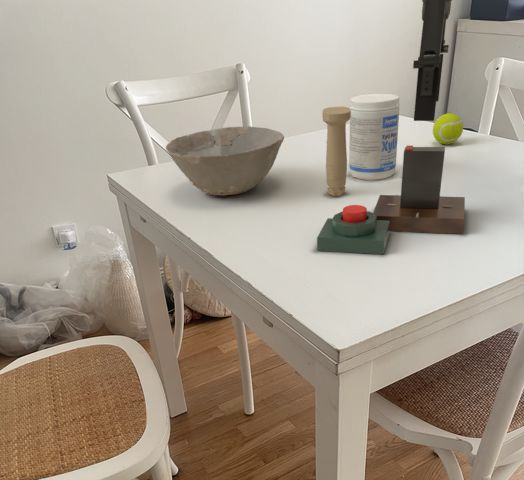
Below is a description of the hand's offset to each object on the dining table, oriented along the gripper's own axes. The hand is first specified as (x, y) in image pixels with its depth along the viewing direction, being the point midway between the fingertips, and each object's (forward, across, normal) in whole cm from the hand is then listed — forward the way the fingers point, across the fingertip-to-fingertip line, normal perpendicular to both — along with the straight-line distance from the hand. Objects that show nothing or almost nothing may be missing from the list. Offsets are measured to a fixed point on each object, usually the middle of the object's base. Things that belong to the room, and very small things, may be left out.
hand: (426, 110), depth 80 cm
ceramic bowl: (+18, -13, -38) cm, 44 cm away
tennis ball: (+17, -49, +3) cm, 52 cm away
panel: (+17, 0, 0) cm, 17 cm away
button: (+14, +10, -9) cm, 19 cm away
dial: (+15, 0, 0) cm, 15 cm away
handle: (+17, -12, -16) cm, 26 cm away
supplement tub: (+17, -25, -11) cm, 32 cm away
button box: (+17, +10, -9) cm, 22 cm away
